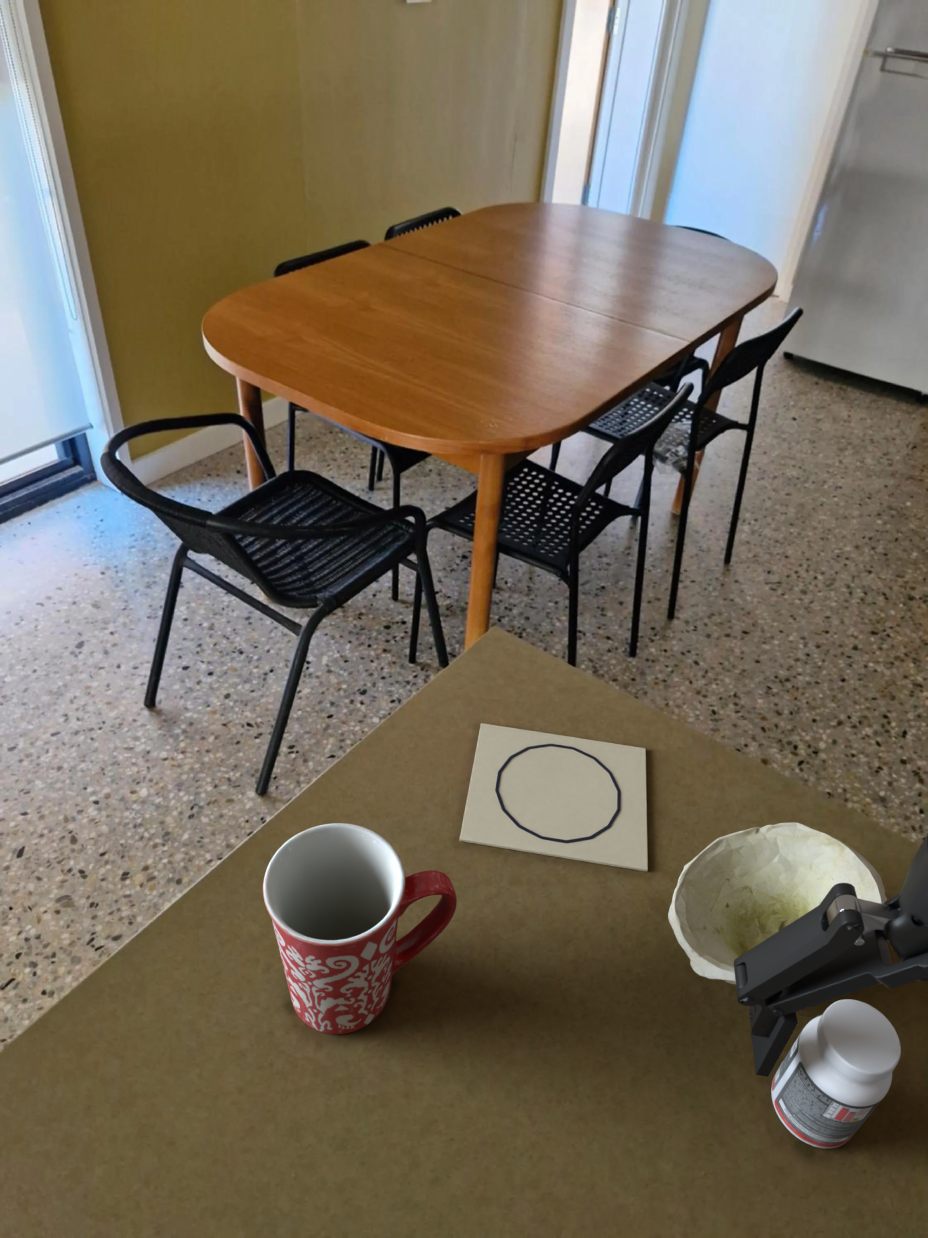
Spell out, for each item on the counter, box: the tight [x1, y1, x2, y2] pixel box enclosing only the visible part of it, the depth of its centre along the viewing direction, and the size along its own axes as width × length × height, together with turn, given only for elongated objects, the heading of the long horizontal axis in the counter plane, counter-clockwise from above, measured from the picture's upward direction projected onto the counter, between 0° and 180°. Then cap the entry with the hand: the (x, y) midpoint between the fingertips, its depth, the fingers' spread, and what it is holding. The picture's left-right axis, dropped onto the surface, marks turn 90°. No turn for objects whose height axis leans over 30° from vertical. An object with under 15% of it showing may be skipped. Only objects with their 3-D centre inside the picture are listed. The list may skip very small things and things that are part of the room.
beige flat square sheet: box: [459, 722, 649, 873], centre depth 80 cm, size 14×16×1 cm
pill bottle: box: [770, 998, 902, 1149], centre depth 58 cm, size 6×6×10 cm
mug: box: [262, 822, 458, 1035], centre depth 61 cm, size 13×9×14 cm
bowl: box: [667, 821, 888, 985], centre depth 66 cm, size 15×14×10 cm
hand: (868, 1073), depth 56 cm, fingers open, 13 cm apart
